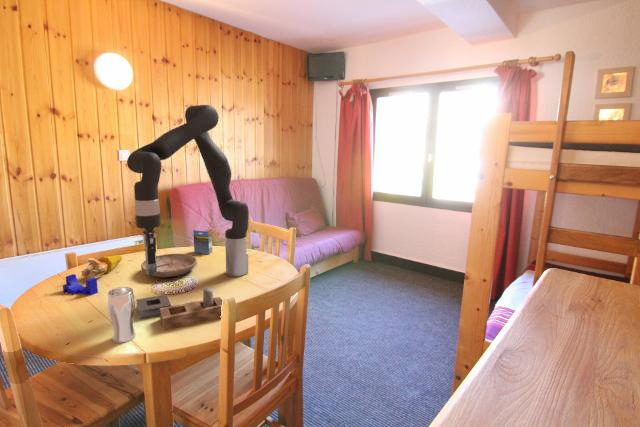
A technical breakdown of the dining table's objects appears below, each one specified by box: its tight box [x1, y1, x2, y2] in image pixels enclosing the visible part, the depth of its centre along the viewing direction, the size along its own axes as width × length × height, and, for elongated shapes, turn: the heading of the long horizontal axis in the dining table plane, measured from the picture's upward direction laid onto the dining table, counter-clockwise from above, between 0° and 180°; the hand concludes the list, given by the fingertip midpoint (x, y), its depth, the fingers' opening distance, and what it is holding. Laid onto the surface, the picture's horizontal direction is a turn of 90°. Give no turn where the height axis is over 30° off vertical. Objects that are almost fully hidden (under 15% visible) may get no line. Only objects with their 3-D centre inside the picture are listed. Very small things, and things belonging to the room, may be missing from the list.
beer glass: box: [107, 286, 136, 344], centre depth 108 cm, size 7×7×15 cm
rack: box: [159, 287, 223, 331], centre depth 122 cm, size 20×8×9 cm, turn 121°
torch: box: [80, 254, 123, 281], centre depth 159 cm, size 8×8×25 cm
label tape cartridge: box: [192, 230, 213, 255], centre depth 191 cm, size 9×4×12 cm, turn 77°
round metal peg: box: [144, 242, 157, 276], centre depth 123 cm, size 3×3×11 cm
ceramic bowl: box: [140, 253, 198, 278], centre depth 163 cm, size 23×24×5 cm
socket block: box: [135, 294, 172, 320], centre depth 127 cm, size 10×10×3 cm
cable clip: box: [62, 273, 99, 296], centre depth 139 cm, size 12×4×6 cm, turn 73°
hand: (151, 261), depth 123 cm, fingers closed on round metal peg, 3 cm apart
